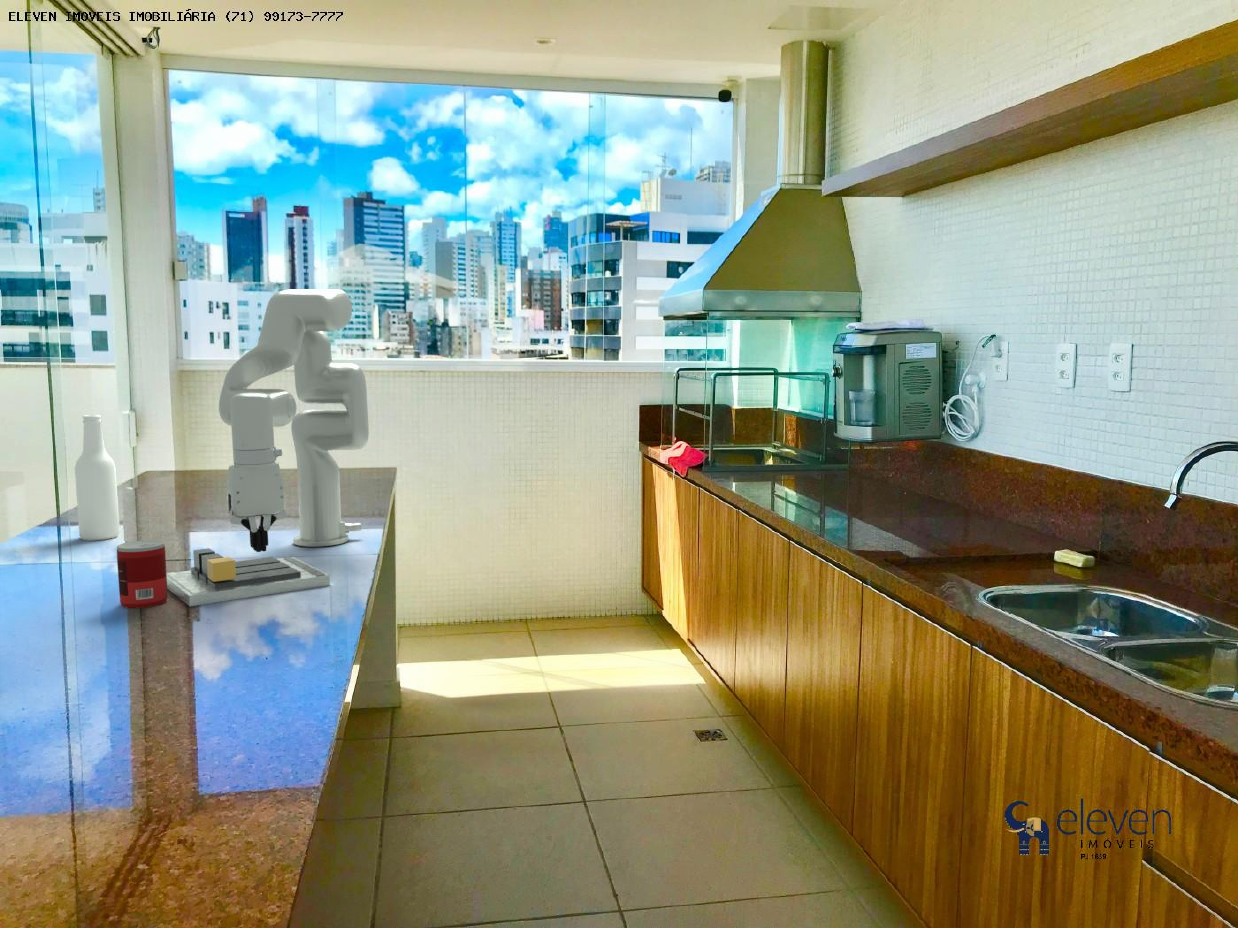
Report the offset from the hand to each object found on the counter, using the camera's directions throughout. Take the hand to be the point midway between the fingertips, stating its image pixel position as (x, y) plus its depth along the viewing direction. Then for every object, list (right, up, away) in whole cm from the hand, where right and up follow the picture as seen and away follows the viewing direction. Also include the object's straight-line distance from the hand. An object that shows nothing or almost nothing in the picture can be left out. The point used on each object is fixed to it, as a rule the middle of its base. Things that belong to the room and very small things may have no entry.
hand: (259, 550), depth 192 cm
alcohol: (-57, -1, +50) cm, 76 cm away
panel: (-3, -7, +2) cm, 8 cm away
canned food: (-17, -9, -12) cm, 22 cm away
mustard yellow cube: (-5, -5, -7) cm, 10 cm away
